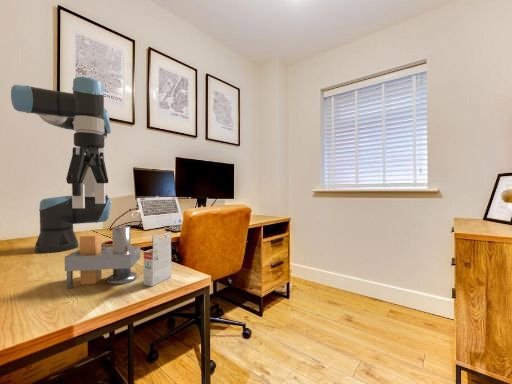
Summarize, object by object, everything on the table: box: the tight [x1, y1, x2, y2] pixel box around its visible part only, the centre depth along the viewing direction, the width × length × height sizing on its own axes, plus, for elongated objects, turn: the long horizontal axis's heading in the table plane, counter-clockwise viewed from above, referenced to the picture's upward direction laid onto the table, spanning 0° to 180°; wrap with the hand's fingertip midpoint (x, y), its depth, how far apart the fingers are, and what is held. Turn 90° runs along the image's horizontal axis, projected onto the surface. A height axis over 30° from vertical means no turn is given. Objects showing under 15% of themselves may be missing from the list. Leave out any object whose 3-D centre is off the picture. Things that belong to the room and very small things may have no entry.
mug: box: [101, 240, 113, 247], centre depth 100 cm, size 12×7×7 cm, turn 37°
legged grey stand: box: [64, 225, 141, 290], centre depth 76 cm, size 17×10×16 cm, turn 100°
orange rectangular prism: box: [79, 232, 102, 285], centre depth 75 cm, size 4×4×14 cm
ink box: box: [143, 230, 172, 287], centre depth 76 cm, size 4×8×15 cm, turn 158°
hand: (90, 205), depth 75 cm, fingers open, 13 cm apart
